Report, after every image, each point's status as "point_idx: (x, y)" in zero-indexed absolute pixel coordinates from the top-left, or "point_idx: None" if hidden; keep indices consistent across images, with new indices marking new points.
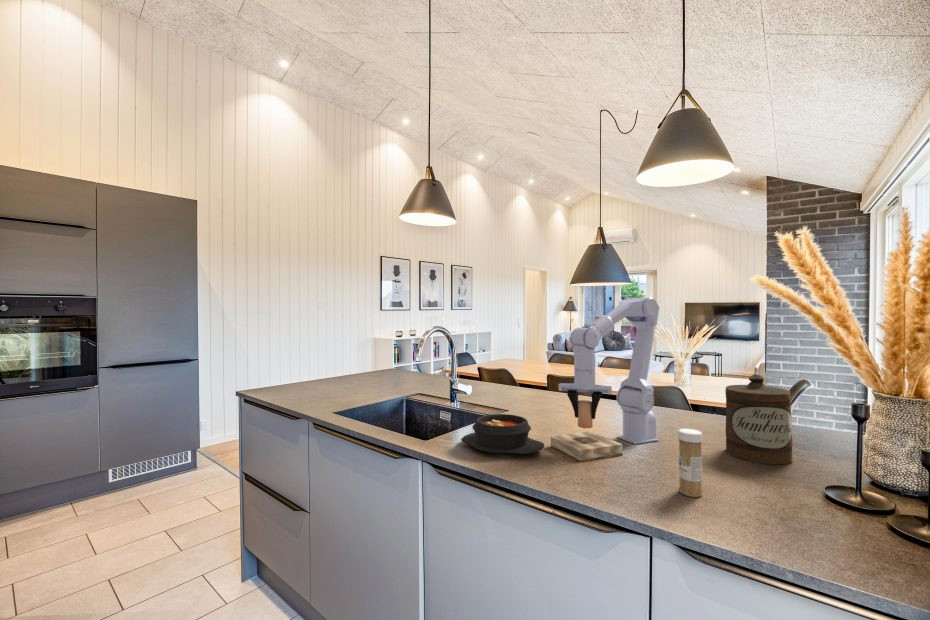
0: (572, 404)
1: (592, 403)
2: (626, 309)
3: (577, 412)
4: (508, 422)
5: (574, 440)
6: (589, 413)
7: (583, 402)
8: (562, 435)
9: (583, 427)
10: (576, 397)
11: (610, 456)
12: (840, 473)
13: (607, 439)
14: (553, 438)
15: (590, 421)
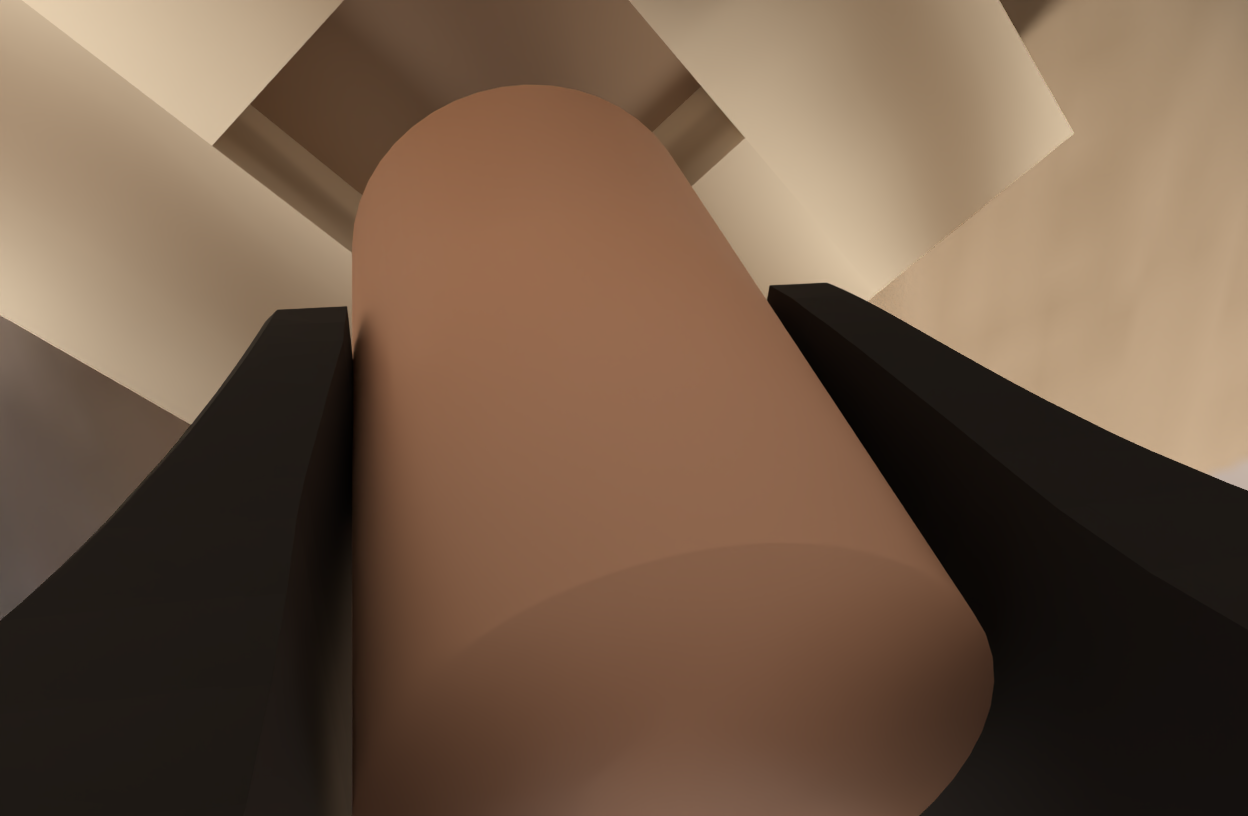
0: (1161, 458)
1: (256, 639)
2: None
3: None
4: None
5: (682, 39)
6: (419, 347)
7: (752, 636)
8: (881, 254)
9: (551, 86)
10: (1184, 812)
11: None
12: None
13: (125, 340)
14: (1031, 63)
15: (383, 239)
